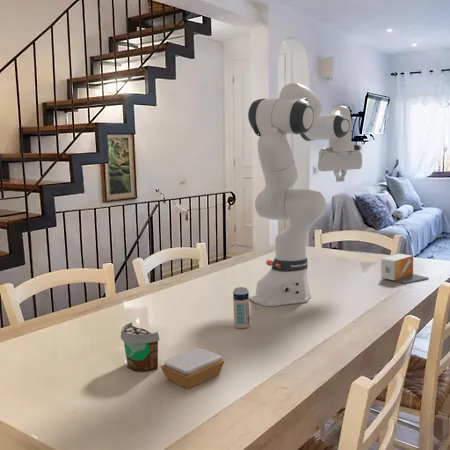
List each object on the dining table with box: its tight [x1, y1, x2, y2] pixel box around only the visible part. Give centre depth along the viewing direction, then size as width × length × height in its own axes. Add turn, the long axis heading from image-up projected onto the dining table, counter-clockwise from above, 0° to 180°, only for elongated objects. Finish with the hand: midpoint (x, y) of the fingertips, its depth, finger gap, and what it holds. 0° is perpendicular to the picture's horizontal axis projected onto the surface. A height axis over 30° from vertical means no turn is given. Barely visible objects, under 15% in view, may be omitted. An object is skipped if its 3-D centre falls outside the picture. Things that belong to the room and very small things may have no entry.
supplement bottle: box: [232, 286, 250, 330], centre depth 157 cm, size 5×5×12 cm
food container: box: [120, 322, 160, 373], centre depth 131 cm, size 12×6×10 cm, turn 44°
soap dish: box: [159, 347, 226, 389], centre depth 125 cm, size 12×10×5 cm
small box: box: [380, 253, 414, 281], centre depth 208 cm, size 8×6×13 cm
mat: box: [383, 273, 430, 285], centre depth 207 cm, size 13×12×1 cm
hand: (340, 181), depth 210 cm, fingers closed
